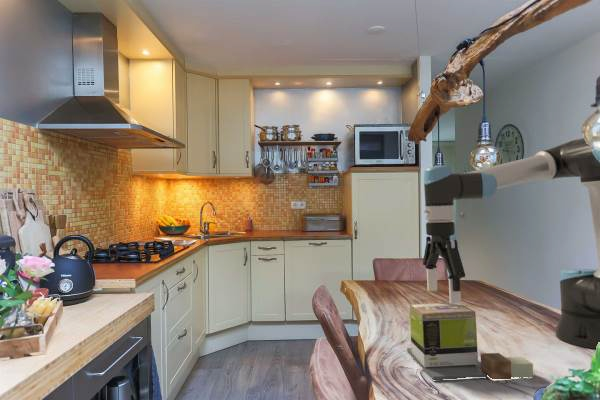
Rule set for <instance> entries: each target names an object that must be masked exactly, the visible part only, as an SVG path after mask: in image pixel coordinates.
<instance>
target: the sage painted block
mask: <svg viewBox="0 0 600 400" xmlns="http://www.w3.org/2000/svg"><path fill="white" fill-rule="evenodd" d="M504 357H505V358H507V359H508V360H510V361H511V377H513V378H514V377H519V378H520V377H521V378H523V377H528V378H529V377H533V378H534V363H532V362H531V361H529V360H528V359H526V358H525V357H524V356H513V357H512V356H511V357H509V356H504Z"/></svg>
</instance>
